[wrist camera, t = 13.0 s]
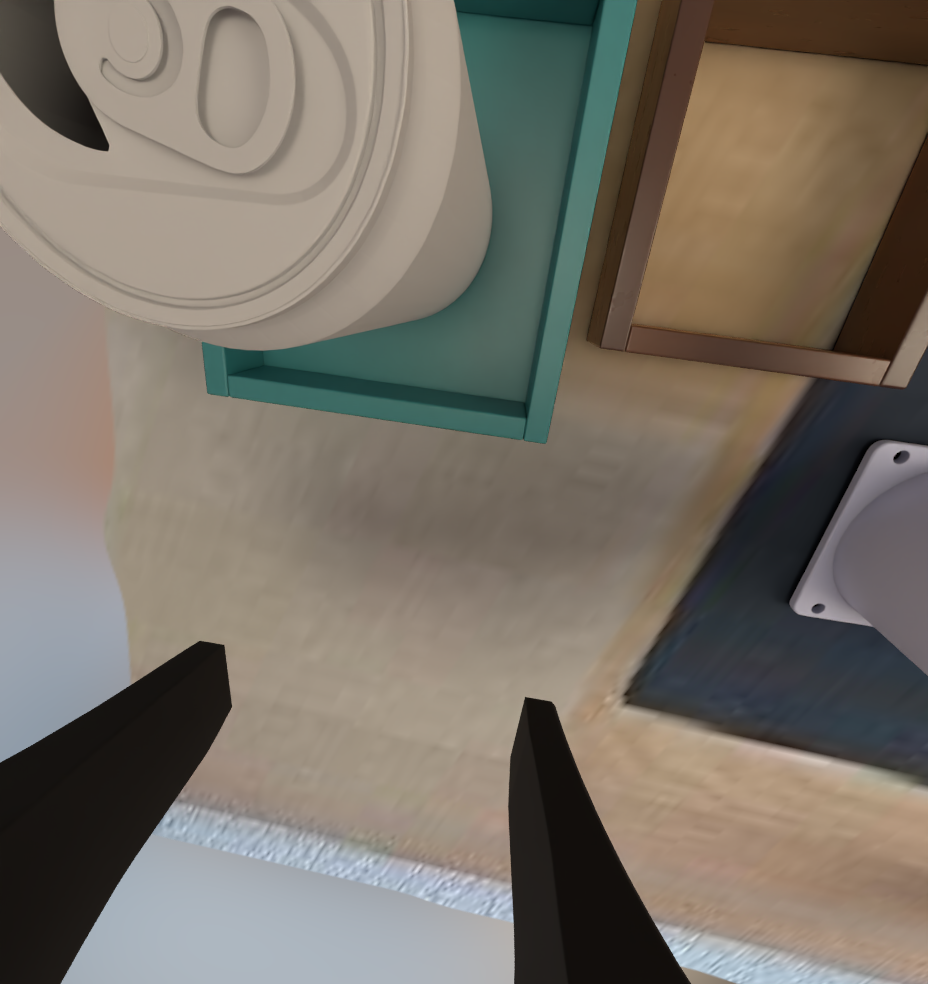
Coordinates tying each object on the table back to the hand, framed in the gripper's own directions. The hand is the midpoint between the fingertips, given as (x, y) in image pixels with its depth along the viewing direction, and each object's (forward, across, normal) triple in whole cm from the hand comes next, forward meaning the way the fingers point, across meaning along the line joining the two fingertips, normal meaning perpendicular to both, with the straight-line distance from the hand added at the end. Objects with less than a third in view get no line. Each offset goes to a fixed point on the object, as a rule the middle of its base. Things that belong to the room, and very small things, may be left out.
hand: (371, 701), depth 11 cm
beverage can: (+10, +2, -11) cm, 15 cm away
